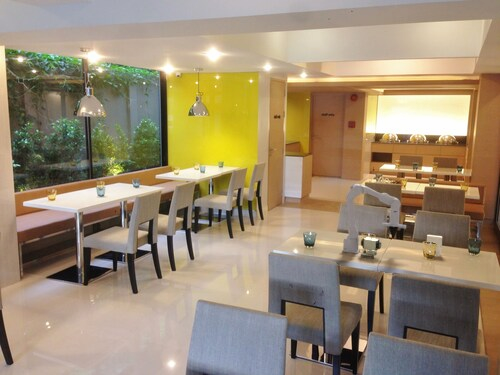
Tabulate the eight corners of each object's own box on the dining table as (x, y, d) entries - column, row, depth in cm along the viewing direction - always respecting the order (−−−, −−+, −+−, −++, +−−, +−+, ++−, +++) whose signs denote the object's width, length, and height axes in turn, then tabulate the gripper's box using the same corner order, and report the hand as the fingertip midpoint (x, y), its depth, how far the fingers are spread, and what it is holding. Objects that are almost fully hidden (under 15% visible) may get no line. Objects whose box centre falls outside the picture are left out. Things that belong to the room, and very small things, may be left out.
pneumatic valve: (378, 258, 277) (379, 239, 275) (360, 255, 284) (361, 236, 282) (381, 256, 282) (382, 237, 280) (363, 252, 288) (364, 234, 287)
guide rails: (360, 256, 280) (360, 254, 280) (363, 252, 290) (363, 249, 290) (373, 258, 277) (373, 256, 277) (376, 253, 287) (376, 251, 287)
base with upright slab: (441, 253, 290) (442, 235, 288) (440, 257, 282) (442, 238, 280) (426, 251, 294) (427, 233, 292) (425, 255, 286) (426, 236, 284)
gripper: (381, 217, 283) (380, 238, 285) (405, 219, 277) (404, 241, 279) (383, 215, 289) (382, 235, 291) (407, 217, 283) (405, 238, 285)
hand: (393, 238), depth 286 cm, fingers closed
